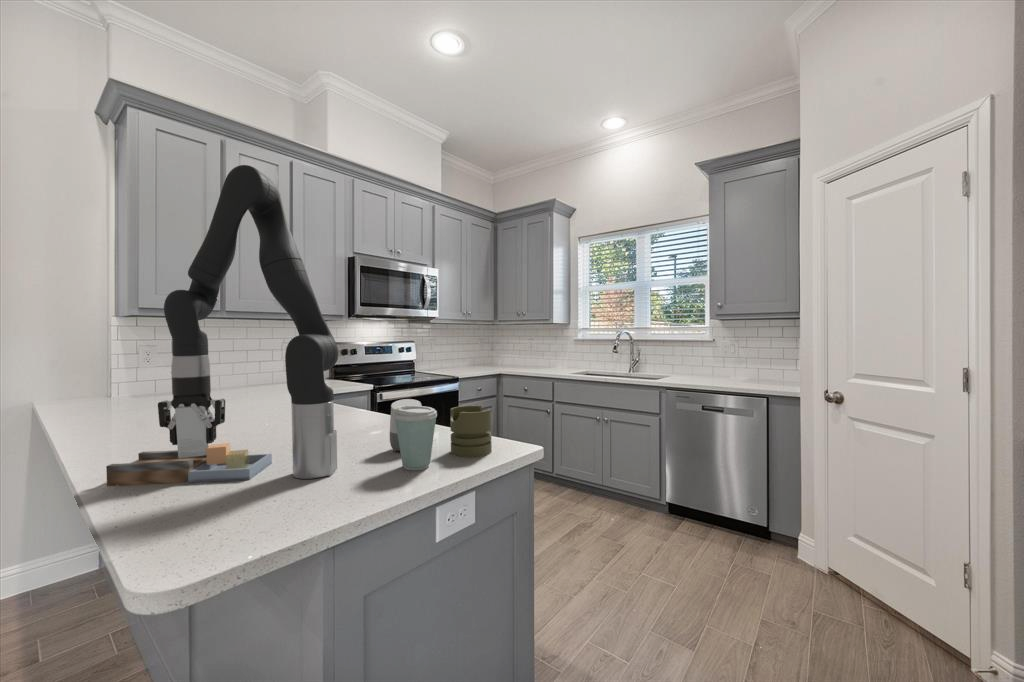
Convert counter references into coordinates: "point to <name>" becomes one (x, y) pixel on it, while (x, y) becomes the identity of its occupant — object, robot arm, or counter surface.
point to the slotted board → (154, 475)
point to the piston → (470, 431)
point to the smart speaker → (393, 430)
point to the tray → (230, 470)
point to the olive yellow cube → (237, 459)
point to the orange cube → (217, 453)
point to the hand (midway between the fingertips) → (193, 443)
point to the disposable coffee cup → (415, 435)
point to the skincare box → (190, 432)
